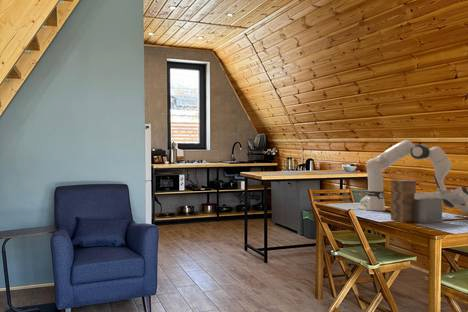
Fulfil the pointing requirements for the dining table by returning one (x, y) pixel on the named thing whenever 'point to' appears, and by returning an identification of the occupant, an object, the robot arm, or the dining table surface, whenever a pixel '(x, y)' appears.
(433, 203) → the riser block
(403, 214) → the tall wooden cabinet
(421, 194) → the grey rectangular block
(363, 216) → the dining table surface
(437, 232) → the dining table surface
